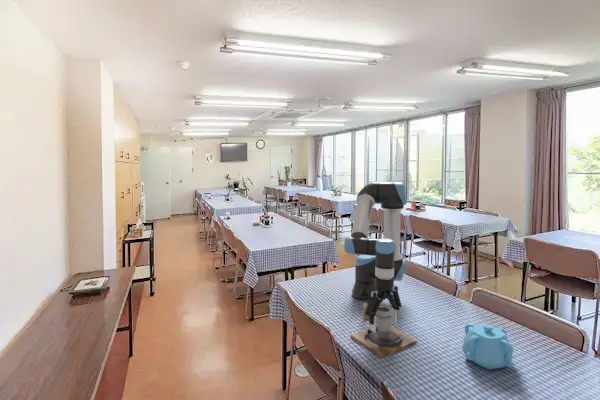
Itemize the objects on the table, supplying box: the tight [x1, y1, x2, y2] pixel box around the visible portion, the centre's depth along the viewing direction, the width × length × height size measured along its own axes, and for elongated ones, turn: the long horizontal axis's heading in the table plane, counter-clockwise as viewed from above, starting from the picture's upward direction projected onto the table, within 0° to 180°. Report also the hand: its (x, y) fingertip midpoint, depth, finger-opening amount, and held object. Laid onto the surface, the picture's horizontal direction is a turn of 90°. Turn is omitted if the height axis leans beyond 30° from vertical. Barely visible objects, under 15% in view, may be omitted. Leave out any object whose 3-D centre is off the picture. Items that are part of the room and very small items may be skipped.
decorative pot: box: [462, 323, 514, 370], centre depth 123 cm, size 16×16×14 cm
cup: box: [376, 305, 392, 339], centre depth 138 cm, size 7×7×12 cm
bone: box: [362, 302, 377, 321], centre depth 156 cm, size 9×6×10 cm
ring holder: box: [350, 325, 418, 359], centre depth 138 cm, size 20×18×3 cm
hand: (383, 327), depth 138 cm, fingers open, 11 cm apart
